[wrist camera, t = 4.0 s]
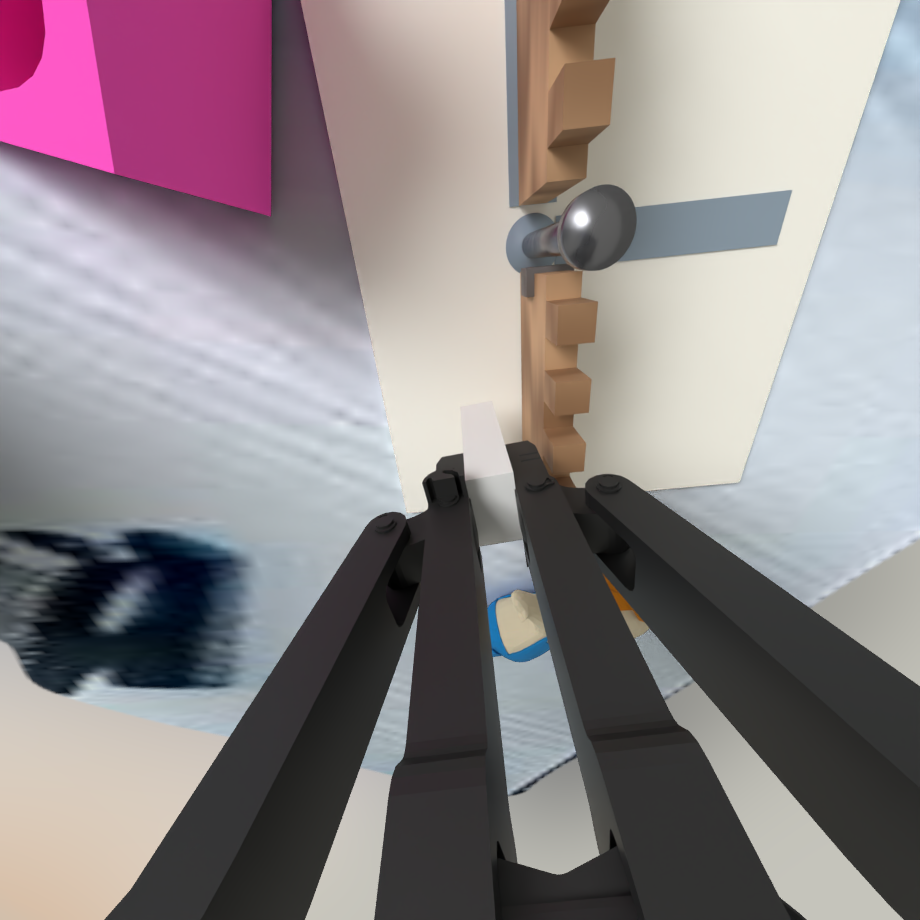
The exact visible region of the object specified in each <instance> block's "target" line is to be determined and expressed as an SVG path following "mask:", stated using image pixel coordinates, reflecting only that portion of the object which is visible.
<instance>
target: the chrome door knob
mask: <svg viewBox="0 0 920 920" xmlns="http://www.w3.org/2000/svg"><path fill="white" fill-rule="evenodd" d="M636 224H637V215H636V209H635V206H634V203H633V201H632V199H631V197H630V196H629V195H628V194H627V192H626V191H624V190H623V189H622V188H620V187H618V186H615V185H610V184H603V185H598V186H595V187H593V188H591V189H589V190H587V191H585V192H583V193H581V194H580V195H578V196H577V197H575V198H574V199H573V200H572V201H571V202H570V203H569V204H568V206H567V207H566V209H565V210H564V212H563V214H562V216H561V218H560V221H559V222H556V223H554V224H551V225H549V226H546V227H544V228H541V229H539V230H536V231H534V232H531V233H529V234H527V235H526V236H525V238H524V239H523V242H522V251H523V253H524V255H525V256H526V257H528V258H542V257H555V256H562V258H563V259H564V261H565V262H566V263H567V264H568V265H570V266H571V267H573V268H575V269H578V270H583V271H598V270H603V269H606V268H608V267H610V266H612V265H613V264H615V263H616V262H617V261H618V260H619V259H620V258H621V257H622V256H623V255H624V254H625V253H626V251H627V250H628V248H629V247H630V245H631V243H632V240H633V238H634V235H635V231H636Z"/></svg>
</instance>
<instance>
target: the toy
mask: <svg viewBox="0 0 920 920" xmlns="http://www.w3.org/2000/svg"><path fill="white" fill-rule="evenodd" d="M602 574H603V573H602ZM603 576H604V574H603ZM604 578H605V580H606V582H607V584H608V586H609V588H610V590H611V592H612V594H613V596H614V598H615V600H616V602H617V604H618V606H619V608H620V611H621V613H622V615H623V617H624V619H625V621H626V623H627V625H628V627H629V629H630V631H631V633H632V635H633V637H634V638H636V637H638V636H640V635H642V634H644V633H645V632H646V631H647V630H648V629H649V627H648V626H647V625H646V623H645V622H644V621H643V620H642V619H641V618H640V616H639V615H638V614H637V613H636V612H635V611H634V609H633V608H632V607H631V606H630V605H629V604H628V602H627V601H626V600H625V599H624V598H623V597H622V595H621V594H620V593H619V592H618V591H617V590H616V588H615V587H614V586H613V585H612V584H611V583H610V581H609V580H608V579H607V578H606V577H605V576H604ZM487 610H488V619H489V628H490V637H491V647H492V656H493V657H496V656H502V655H503V656H504V657H505V658H507V659H510V660H512V661H515V662H526V661H530V660H532V659H534V658H536V657H538V656H540V655H542V654H544V653H545V652H547V651H548V650H550V648H549V644H548V640H547V636H546V632H545V628H544V624H543V620H542V616H541V612H540V608H539V604H538V600H537V596H536V593H528V592H525V591H521V590H515V591H514V592H512V594H511V595H506V596H503V597H500V598H497V599H496V600H495V601H493V602H492V603H491V604H490V605H489V607H488V608H487ZM651 631H652V630H651Z"/></svg>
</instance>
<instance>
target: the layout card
mask: <svg viewBox="0 0 920 920" xmlns="http://www.w3.org/2000/svg"><path fill="white" fill-rule="evenodd" d="M899 3H900V0H610V1H609V2H608V4H607V6H606V7H605V9H604V11H603V12H602V14H601V16H600V17H599V19H598V21H597V22H596V27H595V43H594V60H599V59H608V58H615V71H614V83H613V95H612V107H611V120H610V125H609V126H608V127H607V128H606V129H605V130H603V131H602V132H601V133H600V134H599V135H598V136H597V137H595V138H594V139H593V140H592V141H591V142H590V143H589V144H588V159H587V176H586V178H585V179H584V180H582V181H581V182H579V183H578V184H576V185H574V186H573V187H571V188H570V189H568V190H567V191H565V192H563V193H562V194H560V195H559V196H557V197H556V198H554V199H552V200H551V201H549V202H548V203H541V204H532V205H523V206H519V170H518V90H517V10H516V0H301V5H302V10H303V15H304V20H305V24H306V29H307V34H308V39H309V44H310V49H311V53H312V58H313V63H314V68H315V73H316V77H317V82H318V87H319V92H320V97H321V102H322V106H323V111H324V116H325V121H326V126H327V131H328V135H329V140H330V145H331V150H332V155H333V160H334V164H335V169H336V174H337V179H338V184H339V189H340V193H341V198H342V203H343V208H344V213H345V217H346V222H347V227H348V232H349V237H350V242H351V246H352V251H353V256H354V261H355V266H356V271H357V275H358V280H359V285H360V290H361V295H362V300H363V304H364V309H365V314H366V319H367V324H368V328H369V333H370V338H371V343H372V348H373V353H374V357H375V362H376V367H377V372H378V377H379V382H380V386H381V391H382V396H383V401H384V406H385V411H386V415H387V420H388V425H389V430H390V435H391V439H392V444H393V449H394V454H395V459H396V464H397V468H398V473H399V478H400V483H401V488H402V493H403V497H404V502H405V507H406V512H407V513H415V512H424V511H426V510H427V509H428V502H427V498H426V495H425V492H424V488H423V485H422V482H423V480H424V478H425V477H426V476H427V475H428V474H430V473H432V472H434V471H436V464H437V463H438V461H439V460H440V459H441V457H445V456H450V455H456V454H461V453H463V440H462V425H461V409H460V407H462V406H467V405H472V404H477V403H483V402H488V401H492V403H493V406H494V410H495V413H496V416H497V420H498V423H499V426H500V430H501V433H502V436H503V440H504V443H505V444H510V443H516V442H521V441H522V379H521V295H520V272H521V268H528V267H538V266H547V265H556V264H567V263H566V262H565V261H564V259H563V258H562V256H555V257H542V258H528V257H526V256H525V255H524V253H523V251H522V242H523V239H524V238H525V236H526V235H527V234H529V233H531V232H534V231H536V230H539V229H541V228H544V227H546V226H549V225H551V224H554V223H556V222H559V221H560V218H561V216H562V214H563V212H564V210H565V209H566V207H567V206H568V204H569V203H570V202H571V201H572V200H573V199H574V198H575V197H577V196H578V195H580V194H581V193H583V192H585V191H587V190H589V189H591V188H593V187H595V186H598V185H603V184H610V185H615V186H618V187H620V188H622V189H623V190H624V191H626V192H627V194H628V195H629V196H630V197H631V199H632V201H633V203H634V206H635V209H636V215H637V224H636V231H635V235H634V238H633V240H632V243H631V245H630V247H629V248H628V250H627V251H626V253H625V254H624V255H623V256H622V257H621V258H620V259H619V260H618V261H617V262H616V263H615V264H613V265H612V266H610V267H608V268H606V269H603V270H598V271H583V270H578V269H575V268H574V271H583V274H582V290H581V297H582V298H586V299H590V300H594V301H598V310H597V321H596V333H595V342H594V343H584V344H578V354H577V368H578V369H579V370H581V371H582V372H583V373H584V374H586V375H587V376H588V377H589V378H591V379H592V381H591V393H590V405H589V413H582V414H574V418H573V427H574V428H575V429H576V431H577V432H578V433H579V435H580V436H581V437H582V439H583V440H584V441H585V442H586V452H585V464H584V471H583V472H572V473H570V477H571V479H572V481H573V483H574V484H575V486H576V488H585V483H586V482H587V481H588V479H590V478H592V477H594V476H596V475H601V474H615V475H619V476H623V477H625V478H627V479H629V480H630V481H631V482H633V483H634V484H636V485H637V486H638V487H640V488H641V489H643V490H644V491H652V490H663V489H674V488H684V487H695V486H706V485H717V484H728V483H738V482H740V479H741V476H742V473H743V470H744V467H745V464H746V461H747V458H748V455H749V452H750V449H751V446H752V443H753V440H754V437H755V434H756V431H757V428H758V425H759V422H760V419H761V416H762V413H763V410H764V407H765V404H766V401H767V398H768V395H769V392H770V389H771V386H772V383H773V380H774V377H775V374H776V371H777V368H778V365H779V362H780V359H781V356H782V353H783V350H784V347H785V344H786V341H787V338H788V335H789V332H790V329H791V326H792V323H793V320H794V317H795V314H796V311H797V308H798V305H799V302H800V299H801V296H802V293H803V290H804V287H805V284H806V281H807V278H808V275H809V272H810V269H811V266H812V263H813V260H814V257H815V254H816V251H817V248H818V245H819V243H820V240H821V237H822V234H823V231H824V228H825V225H826V222H827V219H828V216H829V213H830V210H831V207H832V204H833V201H834V198H835V195H836V192H837V189H838V186H839V183H840V180H841V177H842V174H843V171H844V168H845V165H846V162H847V159H848V156H849V153H850V150H851V147H852V144H853V141H854V138H855V135H856V132H857V129H858V126H859V123H860V120H861V117H862V114H863V111H864V108H865V105H866V102H867V99H868V96H869V93H870V90H871V87H872V84H873V81H874V78H875V75H876V72H877V69H878V66H879V63H880V60H881V57H882V54H883V51H884V48H885V45H886V42H887V39H888V36H889V33H890V30H891V27H892V24H893V21H894V18H895V15H896V12H897V9H898V6H899Z"/></svg>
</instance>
